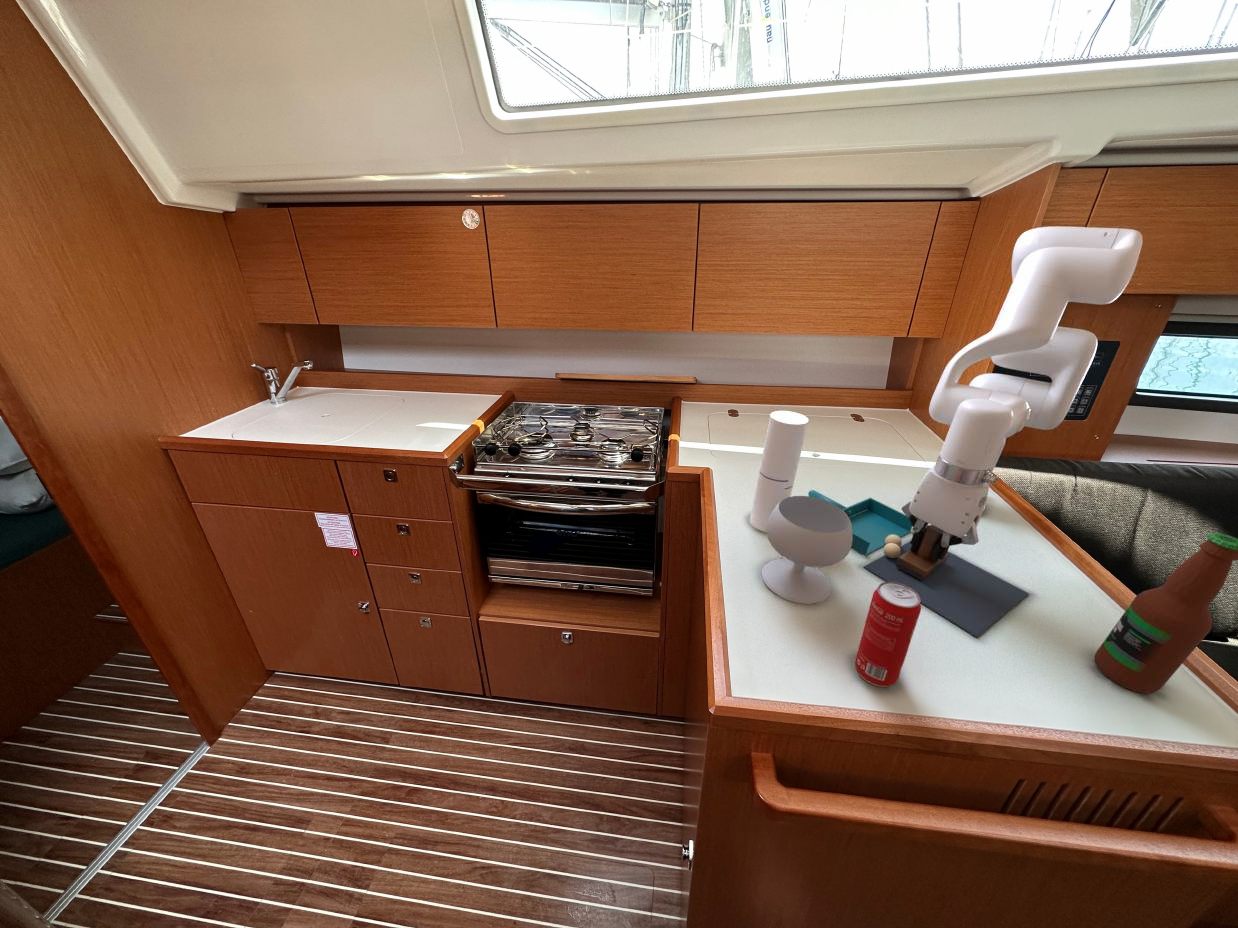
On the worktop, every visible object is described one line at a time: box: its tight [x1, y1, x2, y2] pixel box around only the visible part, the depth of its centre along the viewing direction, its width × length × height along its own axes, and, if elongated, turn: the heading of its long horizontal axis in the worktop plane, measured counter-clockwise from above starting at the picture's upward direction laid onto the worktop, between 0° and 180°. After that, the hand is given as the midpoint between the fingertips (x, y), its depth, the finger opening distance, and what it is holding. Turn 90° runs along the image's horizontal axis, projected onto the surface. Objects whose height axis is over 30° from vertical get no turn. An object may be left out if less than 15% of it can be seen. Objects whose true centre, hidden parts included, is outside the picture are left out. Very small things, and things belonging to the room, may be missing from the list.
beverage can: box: [854, 581, 922, 688], centre depth 66 cm, size 6×6×15 cm
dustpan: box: [807, 489, 913, 557], centre depth 105 cm, size 20×17×3 cm
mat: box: [862, 540, 1030, 639], centre depth 88 cm, size 20×20×1 cm
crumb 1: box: [885, 535, 903, 547], centre depth 96 cm, size 3×3×3 cm
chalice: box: [761, 495, 853, 604], centre depth 83 cm, size 14×14×15 cm
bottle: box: [1093, 532, 1238, 694], centre depth 65 cm, size 7×7×25 cm
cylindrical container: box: [749, 410, 809, 533], centre depth 98 cm, size 7×7×25 cm
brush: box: [896, 524, 951, 581], centre depth 89 cm, size 10×5×8 cm, turn 126°
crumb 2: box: [882, 543, 901, 558], centre depth 93 cm, size 3×3×3 cm
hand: (925, 553), depth 90 cm, fingers closed on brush, 3 cm apart
